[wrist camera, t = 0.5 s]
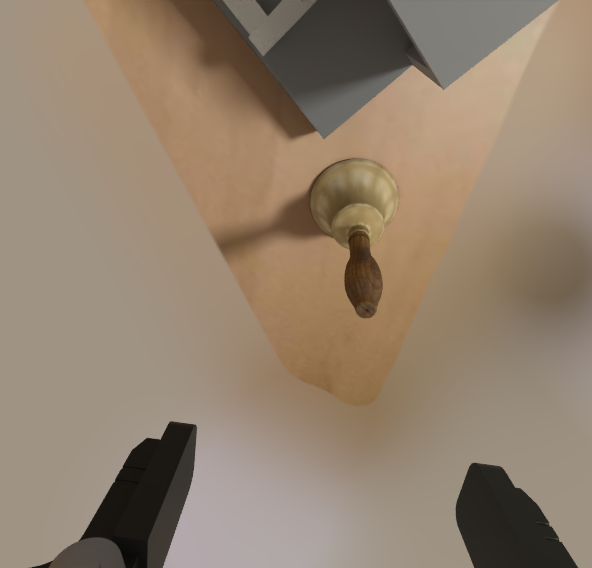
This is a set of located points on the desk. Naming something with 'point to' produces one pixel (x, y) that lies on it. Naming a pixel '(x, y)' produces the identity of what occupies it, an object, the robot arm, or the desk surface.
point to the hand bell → (356, 222)
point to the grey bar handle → (268, 19)
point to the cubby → (382, 47)
